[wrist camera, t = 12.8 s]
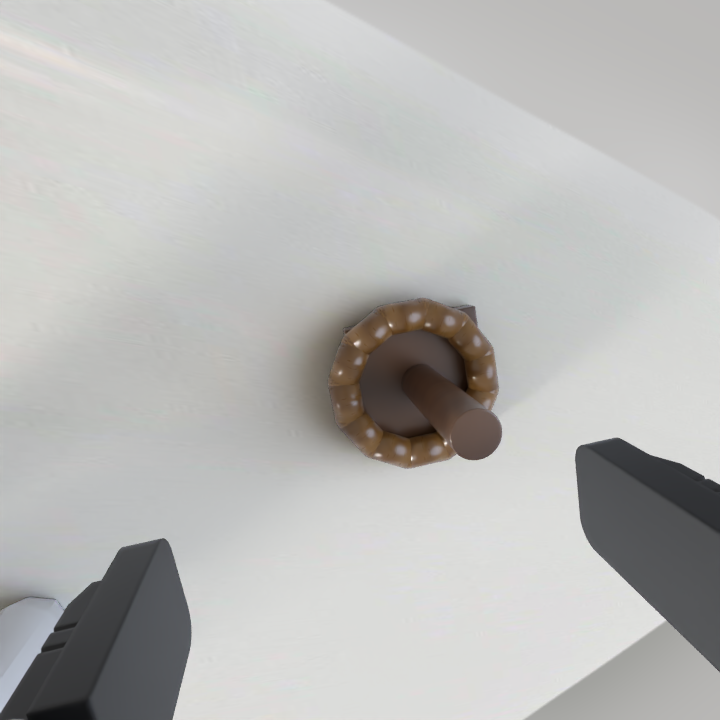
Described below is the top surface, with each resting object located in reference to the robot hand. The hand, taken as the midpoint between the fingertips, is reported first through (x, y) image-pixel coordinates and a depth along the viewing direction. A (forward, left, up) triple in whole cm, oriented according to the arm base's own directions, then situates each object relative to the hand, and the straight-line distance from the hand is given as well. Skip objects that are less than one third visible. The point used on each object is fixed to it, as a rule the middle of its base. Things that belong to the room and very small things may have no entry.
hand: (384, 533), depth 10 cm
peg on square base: (+4, +6, -26) cm, 27 cm away
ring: (+4, +6, -24) cm, 25 cm away
